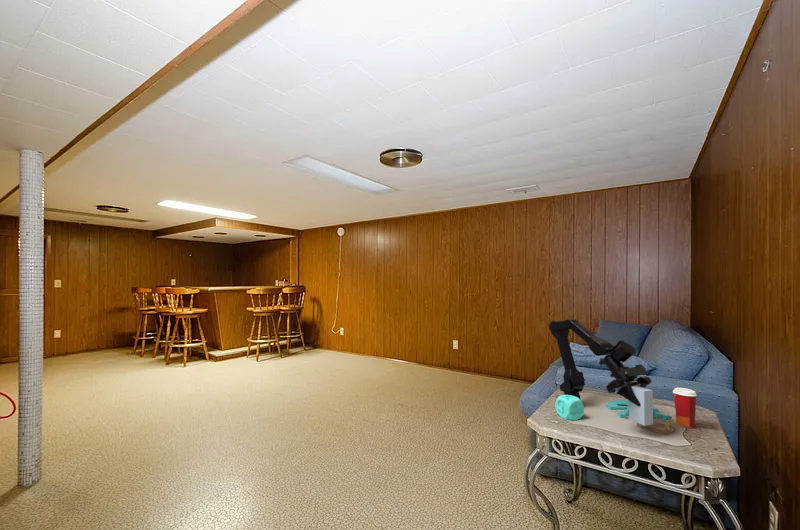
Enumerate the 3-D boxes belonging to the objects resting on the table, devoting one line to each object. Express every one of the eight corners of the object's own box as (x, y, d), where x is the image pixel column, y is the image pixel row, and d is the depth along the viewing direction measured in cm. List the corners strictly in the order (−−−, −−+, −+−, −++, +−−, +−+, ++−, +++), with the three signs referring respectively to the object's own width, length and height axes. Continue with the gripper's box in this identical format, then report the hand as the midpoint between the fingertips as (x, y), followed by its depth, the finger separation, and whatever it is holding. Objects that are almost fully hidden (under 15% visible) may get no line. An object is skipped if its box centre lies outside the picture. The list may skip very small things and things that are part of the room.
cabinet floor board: (636, 426, 142) (636, 415, 143) (644, 421, 147) (644, 411, 147) (667, 435, 134) (667, 423, 134) (674, 429, 139) (674, 418, 139)
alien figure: (671, 421, 149) (643, 405, 168) (671, 416, 149) (643, 400, 169) (620, 419, 151) (599, 403, 170) (620, 414, 151) (599, 399, 171)
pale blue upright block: (629, 419, 138) (628, 386, 139) (637, 418, 140) (637, 385, 140) (644, 425, 132) (644, 391, 133) (653, 424, 134) (652, 390, 134)
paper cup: (691, 422, 146) (690, 388, 147) (702, 430, 139) (701, 393, 140) (669, 421, 148) (668, 386, 149) (679, 428, 141) (678, 392, 141)
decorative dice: (584, 419, 149) (584, 399, 150) (568, 421, 147) (568, 401, 147) (570, 412, 157) (569, 394, 157) (555, 414, 155) (554, 395, 155)
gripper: (612, 358, 138) (641, 396, 127) (646, 355, 144) (676, 391, 133) (595, 374, 145) (621, 411, 134) (628, 371, 151) (655, 406, 140)
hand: (644, 405), depth 135 cm, fingers closed on pale blue upright block, 4 cm apart
